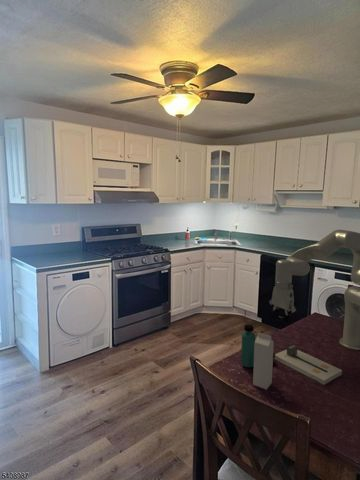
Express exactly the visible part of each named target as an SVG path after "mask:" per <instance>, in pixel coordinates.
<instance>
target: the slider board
mask: <svg viewBox="0 0 360 480" xmlns="http://www.w3.org/2000/svg"><path fill="white" fill-rule="evenodd" d="M274 354H275V355H274V356H275V357H274V356H273V357H274V358H273V360H275V361H278V362H279V363H282V364H283V365H284V366H287V367H289V368H291V369H292V370H295V371H296V372H299V373H300V374H303V375H304V376H306V377H308V378H310V379H312V380H314V381H315V382H318V383H320V384H321V385H324V386H325V385H327V384H329V383H330V382H331V381H333V380H335V379H336V378H338V377H340V376H342V375H343V370H342V369H340V368H338V367H336V366H334V365H332V364H330V363H327V362H325V361H322V360H321V359H319V358H316V357H315V356H312V355H310V354H308V353H305V352H303V351H301V350H298V349H297V354H296V355H294V356H290V355H288V354H287V349H285V350H281V351H280V352H277V353H274Z"/></svg>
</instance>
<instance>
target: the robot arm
mask: <svg viewBox="0 0 360 480" xmlns="http://www.w3.org/2000/svg"><path fill="white" fill-rule="evenodd" d="M341 248H344V249H348V250H349V249H350V251H351V252H352V255H353V260H352V267H351V272H350V281H351V282H352V283H353V284H355V285H358V286H354V285H353V286H349V287H347V288H346V289H345V291H344V293H343V297H344V299H343V300H344V319H343V320H344V321H343V330H342V337H341V338H339V341H338V342H339V344H340V345H341V346H343V347H345V348H346V349H350V350H353V351H354V350H355V351H360V232H357V231H352V230H344V229H335V230H333V231H331V232H330V233H329V234H327V235H326V236H325V237H323V238H322V239H320V240H318V242H315V243H314V244H311V245H307V246H306V247H302V248H300V249H297V250H296V251H294V252H292V254H290V255H288V256H287V257H286V258H285V259H282V258H281V259H277V261H276V263H275V278H274V279H275V281H274V283H275V284H274V285H275V286H273V290H272V295H271V299H270V300H269V301H268V303H269V304H270V306H271V308H272V311H273V319H275V320H276V319H279V317H280V310H279V308H280V309H284V317H283V319H284V320H283V323H285V324H288V323H289V322H290V320H291V318H290V317H291V315H292V314H293V313H294V312H296V311H297V308H296V306H295V296H294V289H293V287H294V285H293V284H292V283H293V282H292V280H293V279H292V278H293V276H306V275H308V274H309V273H310V272H311V271H310V270H311V265H310V264H309V262H308V261H311V260H322V259H326V258H328V257H329V256H331V255H332V254H334V253H335V252H336V251H338V250H339V249H341Z"/></svg>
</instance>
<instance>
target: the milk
mask: <svg viewBox="0 0 360 480" xmlns="http://www.w3.org/2000/svg"><path fill="white" fill-rule="evenodd" d="M274 343H275V341H274V340H273V339H272V335H269V334H265V333H262V332H257V336H256V339H255V344H254V366H253V370H252V371H253V372H252V385H253V386H256V387H258V388H261V389H263V390H266V391H267V390H268V389H269V387H270V386H271V385H272V383H273V382H272V381H273V361H274V358H273V357H274V356H273V353H274Z"/></svg>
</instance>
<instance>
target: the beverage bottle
mask: <svg viewBox="0 0 360 480" xmlns="http://www.w3.org/2000/svg"><path fill="white" fill-rule="evenodd" d="M243 330H244V331H243V332H242V333H241V348H240V349H241V352H240V353H241V354H240V355H241V357H240V363H241V365H242V367H243V366H244V367H246V368H254V344H255V340H256V338H257V336H256V334H255V333H254V325H252V324H250V323H248V324H245V325H244V328H243Z"/></svg>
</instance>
